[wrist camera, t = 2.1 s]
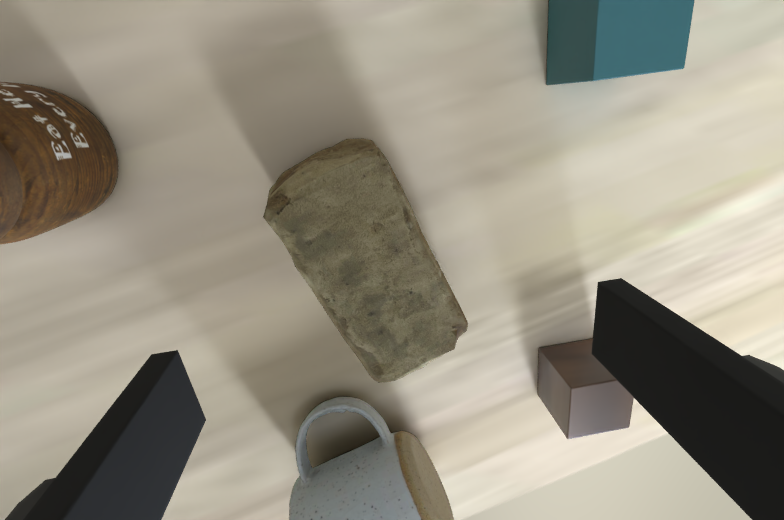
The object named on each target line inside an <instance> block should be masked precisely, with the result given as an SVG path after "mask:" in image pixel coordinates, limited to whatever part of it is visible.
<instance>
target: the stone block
mask: <svg viewBox="0 0 784 520" xmlns="http://www.w3.org/2000/svg"><path fill="white" fill-rule="evenodd" d="M263 217H264V219H265V220H266V221H267V222H268V224H269V225H270V226H271V227H272V228H273V230H274V231H275V232H276V234H277V235H278V236H279V237H280V239H281V240H282V242H283V243H284V245H285V246H286V248H287V249H288V251H289V253H290V255H291V256H292V259H293V262H294V264H295V267H296V268H297V269H298V271H299V272H300V273H301V275H302V276H303V278H304V279H305V280H306V282H307V283H308V285H309V286H310V287H311V289H312V290H313V292H314V294H315V295H316V297H317V299H318V300H319V302H320V303H321V305H322V306H323V308H324V309H325V311H326V312H327V314H328V315H329V317H330V318H331V320H332V322H333V323H334V325H335V326H336V328H337V329H338V331H339V332H340V333H341V335H342V336H343V338H344V339H345V341H346V342H347V344H348V345H349V346H350V348H351V349H352V350H353V352H354V353H355V354H356V355H357V357H358V358H359V359H360V361H361V362H362V364H363V366H364V367H365V369H366V370H367V372H368V373H369V375H370V376H371V377H372V378H373V379H374V380H375V381H377V382H391V381H395V380H397V379H400V378H402V377H404V376H406V375H407V374H409V373H411V372H414V371H416V370H419V369H421V368H423V367H424V366H425V365H427V364H428V363H429V362H431V361H432V360H434V359H436V358H438V357H440V356H442V355H443V354H445V353H447V352H449V351H451V350H453V349H455V345H456V342H457V339H458V337H460V336H461V335H462V334H463V333H465V332H466V330H467V327H468V323H467V320H466V318H465V316H464V314H463V312H462V309H461V307H460V305H459V303H458V301H457V300H456V298H455V296H454V294H453V292H452V290H451V288H450V286H449V284H448V282H447V280H446V278H445V276H444V275H443V273H442V271H441V269H440V267H439V265H438V263H437V261H436V259H435V258H434V255H433V254H432V252H431V250H430V248H429V246H428V244H427V242H426V240H425V238H424V236H423V234H422V232H421V230H420V228H419V225H418V223H417V220H416V218H415V216H414V213H413V211H412V209H411V206H410V204H409V202H408V200H407V198H406V196H405V194H404V192H403V190H402V188H401V186H400V184H399V182H398V180H397V178H396V176H395V174H394V172H393V170H392V168H391V167H390V165H389V163H388V161H387V159H386V158H385V156H384V155H383V154H382V152H381V151H380V149H379V148H378V147H377V146H376V145H375V144H374V142H373V141H372V140H368V139H346V140H344V141H342V142H340V143H338V144H337V145H335V146H333V147H330V148H327V149H325V150H322V151H319V152H317V153H315V154H313V155H312V156H310V157H309V158H307V159H306V160H304V161H302V162H301V163H299V164H297V165H295V166H294V167H292V168H291V169H288V170H287V171H285V172H284V173H283V174H282V175H281V176H280V177H279V178H278V180H277V181H276V183H275V184H274V185H273V186H272V187H271V189H270V191H269V196H268V202H267V206H266V209H265V213H264V216H263Z"/></svg>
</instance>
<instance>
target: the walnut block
mask: <svg viewBox="0 0 784 520" xmlns="http://www.w3.org/2000/svg"><path fill="white" fill-rule="evenodd" d="M592 342H593V339H587V340H581V341H576V342H570V343H565V344H559V345H553V346H548V347H542V348H539V367H538V396H539V397H540V399H541V400H542V402H543V403H544V405H545V406H546V408H547V409H548V411H549V412H550V414H551V415H552V417H553V418H554V420H555V421H556V423H557V424H558V426H559V427H560V429H561V430H562V432H563V433H564V435H565V436H566V438H567V439H572V438H577V437H582V436H587V435H592V434H598V433H603V432H608V431H613V430H618V429H623V428H628V427H629V425H630V418H631V412H632V405H633V398H634V397H633V396H632V395H631V394H630V393H629V392H628V391H627V390H626V389H625V388H624V387H623V386H622V385H621V384H620V383H619V382H618V381H617V379H616V378H615V377H614V376H613V375H612V374H611V373H610V372H609V371H608V370H607V369H606V368H605V367H604V366H603V365H602V364H601V363H600V362H599V361H598V360H597V359H596V358H595V357H594V356H593V355H592V354H591V353H592Z"/></svg>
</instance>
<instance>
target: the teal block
mask: <svg viewBox="0 0 784 520" xmlns="http://www.w3.org/2000/svg"><path fill="white" fill-rule="evenodd" d="M693 6H694V0H549V9H548V44H547V79H546V85H553V84H565V83H576V82H587V81H597V80H604V79H611V78H619V77H626V76H633V75H641V74H648V73H656V72H663V71H670V70H678V69H683V68H684V65H685V59H686V52H687V46H688V39H689V33H690V26H691V19H692V13H693Z"/></svg>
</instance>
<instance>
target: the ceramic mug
mask: <svg viewBox="0 0 784 520" xmlns="http://www.w3.org/2000/svg"><path fill="white" fill-rule="evenodd" d="M345 411H350V412H357V413H359V414H361V415H362V416H364V417H365V418H366V419H368V420H369V421H370V422H371V424H372V425H373V426H374V427H375V429H376V430H377V431H378V433H379V435H380V437H379V438H377V439H375V440H373V441H371V442H369V443H367V444H365V445H363V446H361V447H359V448H357V449H355V450H352V451H350V452H348V453H345V454H343V455H340V456H338V457H336V458H334V459H331V460H329V461H327V462H325V463H323V464H321V465H319V466H317V467H314V468H312V467H311V464H310V461H309V458H308V453H307V446H306V435H307V431H308V428H309V426H310V424H311V423H312V422H313V421H314V420H315V419H316V418H318V417H320V416H322V415H325V414H327V413H330V412H342V413H344V412H345ZM295 448H296V460H297V466H298V470H299V473H300V476H299V478H298V479H297V480H296V482H295V484H294V486H293V490H292V493H291V498H290V503H289V507H290V510H289V520H454V518H453V514H452V510H451V507H450V503H449V500H448V498H447V495H446V492H445V490H444V487H443V485H442V482H441V480H440V478H439V476H438V473H437V471H436V469H435V467H434V465H433V463H432V461H431V459H430V457H429V456H428V454H427V452H426V450H425V449H424V447H423V446H422V445H421V443H420V442H419V440H418V439H417V438H416V437H415V436H414V435H412V434H411V433H409V432H406V431H398V432H395V433H390V431H389V429H388V427H387V424H386V422H385V421H384V419H383V418H382V417H381V416H380V414H379V413H378V412H377V411H376V410H375V409H374V408H373V407H372V406H370V405H369V404H368V403H366V402H364V401H363V400H360V399H357V398H353V397H337V398H333V399H330V400H327V401H325V402H323V403H321V404H320V405H318V406H317V407H315V408H314V409H313V410H312V411H311V412H310V413H309V415H308V416H307V417H306V419H305V420H304V422H303V423H302V425H301V426H300V429H299V432H298V435H297V440H296V446H295Z"/></svg>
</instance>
